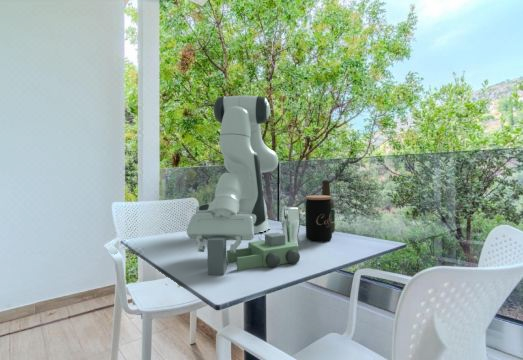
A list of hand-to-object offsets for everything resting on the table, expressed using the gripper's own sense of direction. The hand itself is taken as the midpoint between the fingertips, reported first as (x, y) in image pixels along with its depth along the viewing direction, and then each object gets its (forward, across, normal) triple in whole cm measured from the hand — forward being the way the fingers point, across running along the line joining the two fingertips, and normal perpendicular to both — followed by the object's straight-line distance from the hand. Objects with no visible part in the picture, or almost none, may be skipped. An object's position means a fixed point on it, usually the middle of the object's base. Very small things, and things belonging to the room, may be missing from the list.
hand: (216, 251), depth 89 cm
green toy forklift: (-5, -11, -13) cm, 18 cm away
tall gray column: (+4, 0, -5) cm, 6 cm away
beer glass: (-17, -20, -26) cm, 37 cm away
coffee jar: (-27, -31, -36) cm, 55 cm away
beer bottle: (-39, -35, -48) cm, 72 cm away
